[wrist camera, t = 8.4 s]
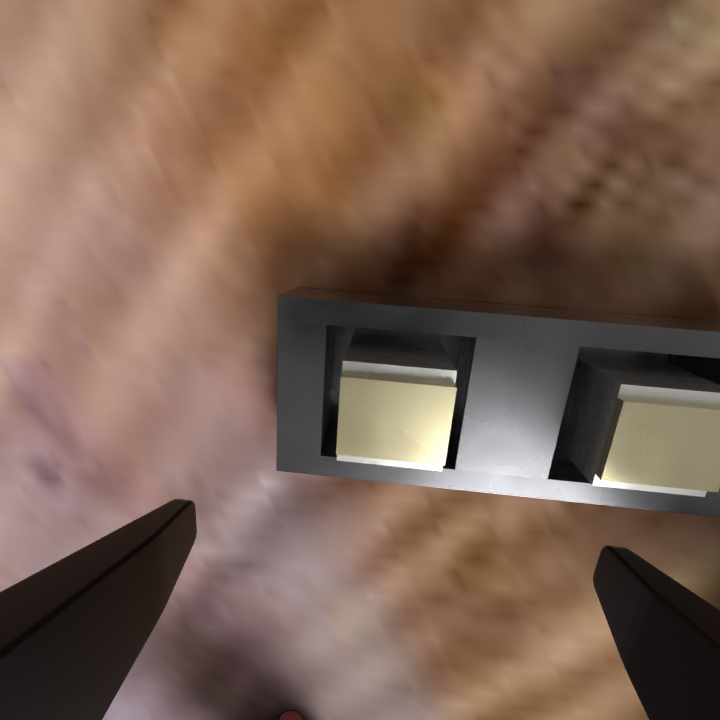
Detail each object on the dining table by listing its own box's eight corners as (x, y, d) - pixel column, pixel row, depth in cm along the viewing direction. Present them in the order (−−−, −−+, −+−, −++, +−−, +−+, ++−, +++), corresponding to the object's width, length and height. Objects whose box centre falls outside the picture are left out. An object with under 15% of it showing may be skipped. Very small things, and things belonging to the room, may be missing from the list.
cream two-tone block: (440, 341, 18) (459, 374, 14) (430, 420, 20) (443, 477, 15) (353, 333, 19) (341, 363, 14) (348, 412, 20) (335, 465, 15)
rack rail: (726, 321, 18) (805, 339, 14) (673, 472, 20) (730, 518, 17) (298, 287, 19) (278, 296, 15) (294, 434, 21) (276, 470, 18)
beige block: (656, 358, 18) (754, 399, 13) (631, 439, 19) (713, 503, 14) (564, 350, 18) (628, 388, 13) (546, 430, 19) (597, 491, 14)
